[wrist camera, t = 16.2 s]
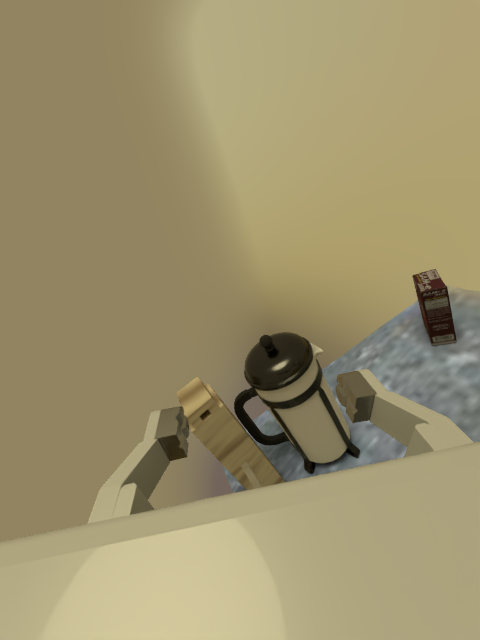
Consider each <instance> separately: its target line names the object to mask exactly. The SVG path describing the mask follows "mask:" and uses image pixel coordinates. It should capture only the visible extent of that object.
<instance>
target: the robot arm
mask: <svg viewBox="0 0 480 640" xmlns="http://www.w3.org/2000/svg"><path fill="white" fill-rule="evenodd" d="M337 381H338V383H339V384H338V385H337V386H336V393H337V397H338V399H339V401H340V403H341V405H343V406H345V407H346V413H347V414H348V416H349V418H350V419H351V421H352V422H353V423H356V422H362V421H368V420H370V422H372V423H373V424H375V425H376V426H378V427H379V428H380V429H382V430H383V431H385V432H386V433H388V434H389V435H390V436H392V437H393V438H395V439H396V440H398V441H399V442H400V443H402V444H403V445H405V446H406V447H408V448H407V451H406V454H405V456H404V457H403V458H398V459H394V460H389V461H384V462H379V463H375V464H370V465H365V466H360V467H356V468H351V469H346V470H341V471H336V472H332V473H327V474H322V475H317V476H313V477H308V478H303V479H298V480H294V481H289V482H284V483H279V484H275V485H270V486H265V487H260V488H256V489H251V490H246V491H241V492H237V493H232V494H227V495H222V496H218V497H213V498H208V499H203V500H198V501H194V502H189V503H185V504H179V505H175V506H170V507H165V508H160V509H156V510H155V509H154V508H153V507H152V505H151V504H150V503H149V501H148V499H149V497H150V496H151V494H152V492H153V490H154V489H155V487H156V485H157V484H158V482H159V480H160V479H161V477H162V475H163V473H164V472H165V470H166V468H167V467H168V465H169V463H170V461H172V460H177V459H181V458H185V457H187V452H188V442H187V440H186V439H187V437H188V436H189V422H188V419H187V416H185V415H184V409H183V407H182V406H181V407H175V408H169V409H163V410H159V411H153V412H152V413H151V414H150V417H149V421H148V425H147V428H146V432H145V436H144V440H143V442H140V443H139V445H137V447H136V448H135V449H134V450H133V451H132V452H131V454H130V455H129V456H128V457H127V458H126V459H125V461H124V462H123V463H122V464H121V465H120V466H119V468H118V469H117V470H116V471H115V472H114V473H113V475H112V476H111V477H110V478H109V479H108V480H107V482H106V483H105V484H104V485H103V486H102V487H101V489H100V491H99V493H98V496H97V499H96V502H95V505H94V507H93V510H92V513H91V515H90V518H89V521H88V524H84V525H79V526H75V527H69V528H64V529H60V530H55V531H50V532H45V533H41V534H36V535H31V536H26V537H21V538H16V539H11V540H7V541H2V542H0V640H480V441H479V442H475V443H474V442H473V441H472V440H471V439H470V438H469V437H467V436H466V435H465V434H464V433H463V432H462V431H461V430H460V429H459V428H458V427H457V426H456V425H455V424H454V423H453V422H452V421H451V420H450V419H449V418H448V417H445V416H443V415H441V414H439V413H437V412H435V411H433V410H430V409H428V408H426V407H424V406H422V405H420V404H417V403H415V402H413V401H411V400H409V399H407V398H405V397H402V396H400V395H398V394H396V393H394V392H388V391H387V390H386V388H385V387H384V386H383V385H382V384H381V383H380V382H379V381H378V380H377V378H376V377H375V376H374V375H373V374H372V373H371V372H370V371H369V370H368V369H364V370H359V371H353V372H349V373H344V374H339V375H338V376H337Z"/></svg>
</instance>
